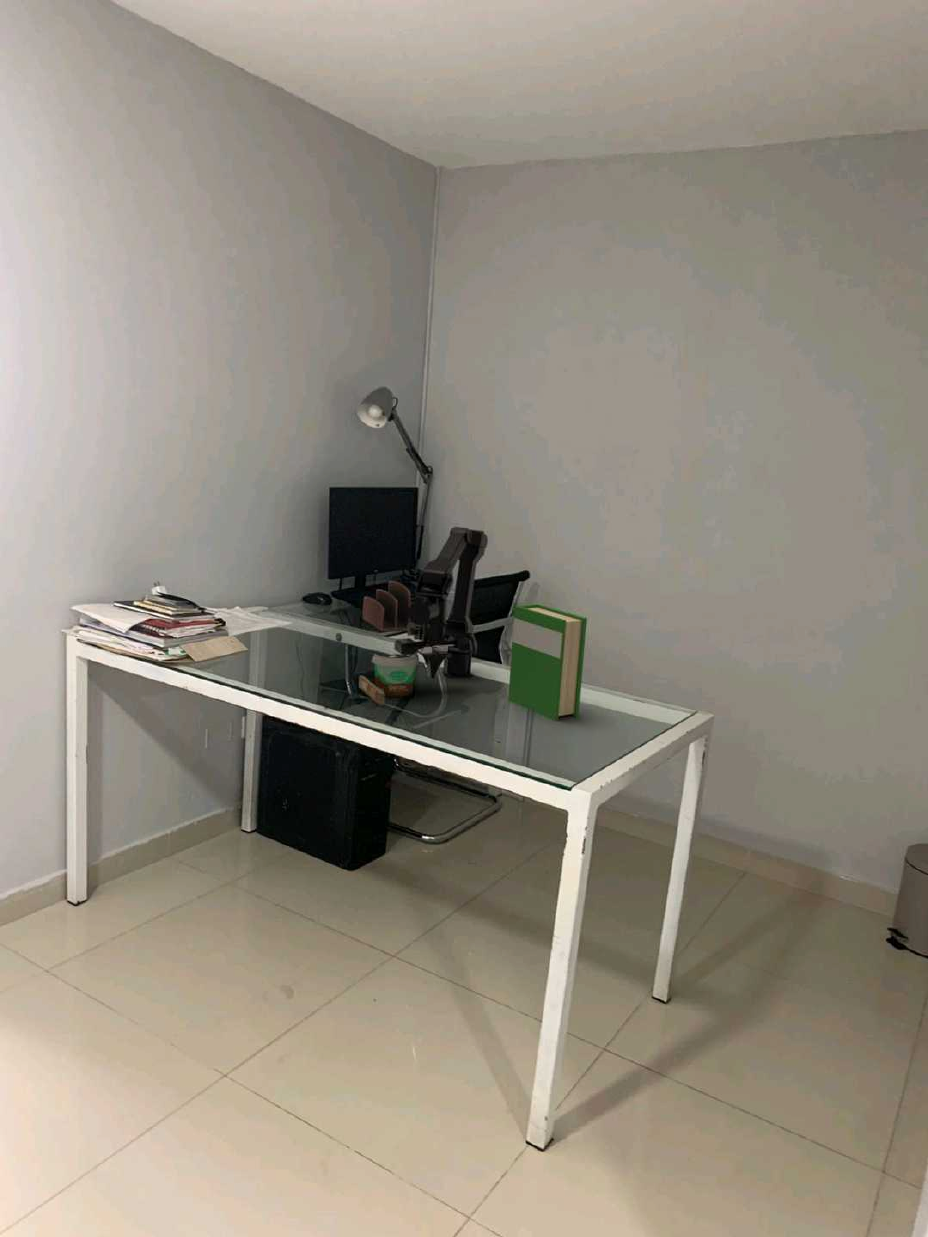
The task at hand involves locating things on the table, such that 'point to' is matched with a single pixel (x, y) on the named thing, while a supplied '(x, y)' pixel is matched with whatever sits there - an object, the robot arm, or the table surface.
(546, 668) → the hardback book
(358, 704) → the table surface
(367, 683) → the rail
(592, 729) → the table surface
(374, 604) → the letter holder
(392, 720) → the table surface
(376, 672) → the food container
